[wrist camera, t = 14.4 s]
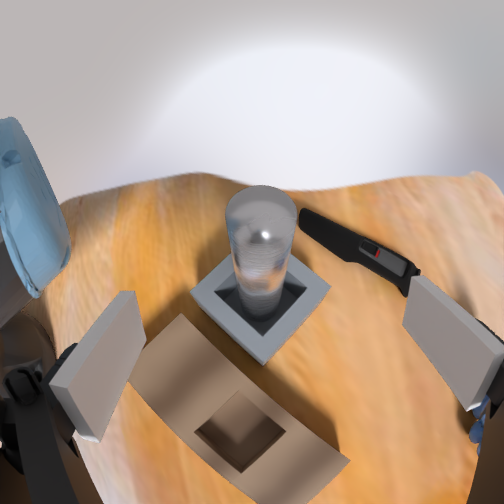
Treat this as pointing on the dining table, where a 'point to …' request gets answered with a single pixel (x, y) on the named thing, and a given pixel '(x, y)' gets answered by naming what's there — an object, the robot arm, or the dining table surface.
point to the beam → (231, 419)
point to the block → (268, 332)
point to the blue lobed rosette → (478, 424)
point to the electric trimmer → (359, 249)
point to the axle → (260, 246)
